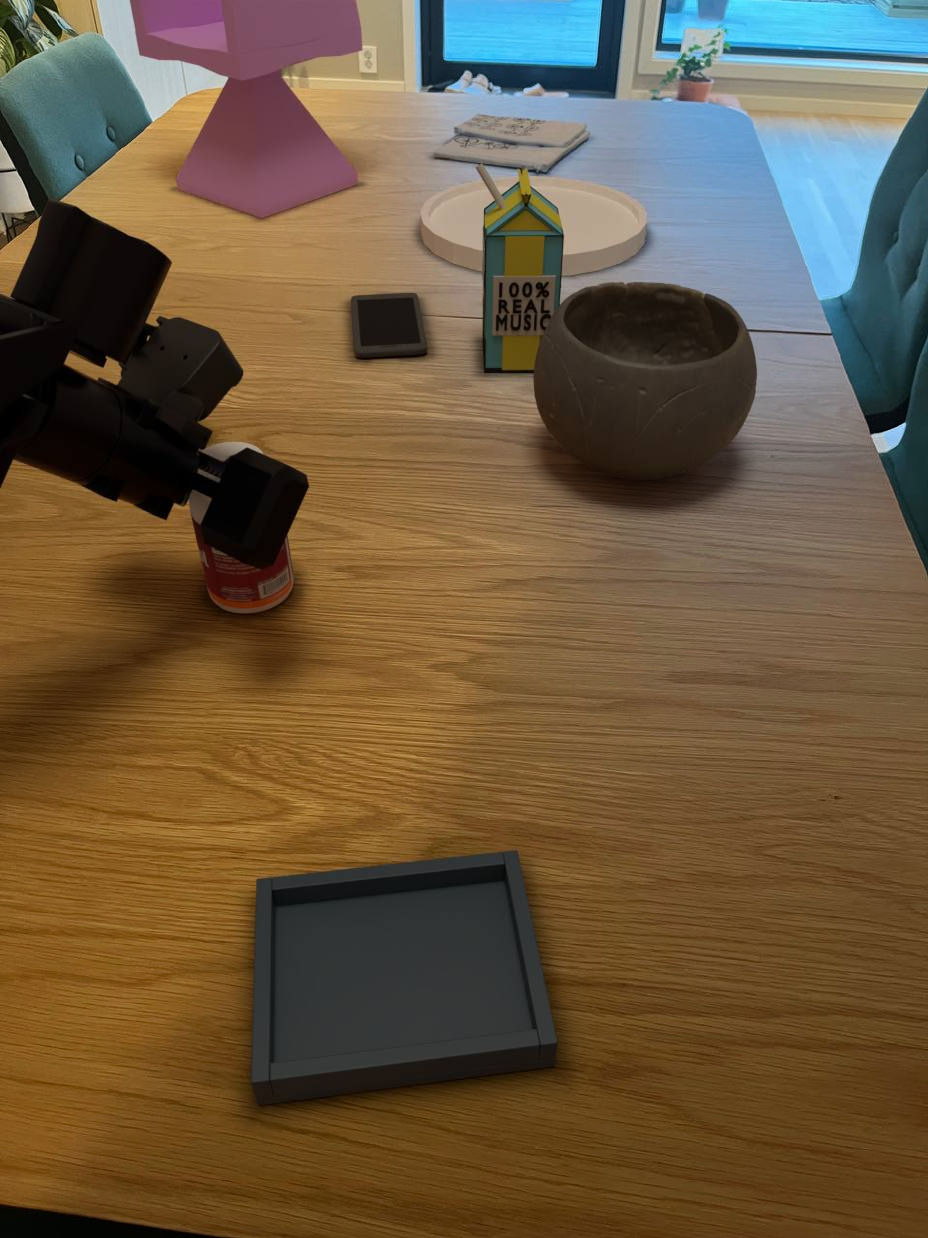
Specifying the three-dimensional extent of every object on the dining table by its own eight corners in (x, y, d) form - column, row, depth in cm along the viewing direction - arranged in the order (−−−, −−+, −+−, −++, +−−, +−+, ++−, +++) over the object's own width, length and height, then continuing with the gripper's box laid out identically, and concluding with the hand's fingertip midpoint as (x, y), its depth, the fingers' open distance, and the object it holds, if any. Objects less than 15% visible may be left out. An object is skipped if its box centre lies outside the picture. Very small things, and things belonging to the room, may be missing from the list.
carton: (474, 339, 104) (474, 153, 93) (550, 339, 104) (560, 152, 93) (475, 373, 99) (476, 179, 87) (555, 372, 99) (567, 179, 87)
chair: (164, 189, 140) (115, -73, 120) (274, 155, 151) (245, -90, 132) (261, 222, 130) (224, -58, 110) (370, 183, 141) (354, -77, 122)
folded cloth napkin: (591, 137, 158) (592, 122, 156) (545, 175, 144) (546, 159, 142) (478, 123, 164) (479, 108, 162) (424, 158, 150) (423, 143, 148)
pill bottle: (217, 563, 76) (191, 433, 69) (300, 563, 76) (282, 434, 69) (200, 617, 71) (170, 484, 64) (288, 617, 71) (268, 485, 64)
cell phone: (417, 297, 112) (417, 291, 111) (428, 355, 101) (428, 348, 101) (350, 301, 111) (350, 294, 111) (354, 359, 101) (354, 352, 100)
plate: (588, 295, 113) (589, 273, 111) (377, 248, 123) (376, 227, 122) (678, 217, 131) (681, 197, 130) (488, 182, 142) (488, 163, 140)
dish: (257, 1106, 46) (250, 1082, 44) (262, 904, 54) (256, 878, 52) (554, 1067, 47) (557, 1042, 46) (516, 875, 55) (517, 849, 54)
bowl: (691, 395, 95) (712, 262, 87) (775, 501, 82) (810, 356, 74) (507, 415, 93) (511, 280, 84) (563, 529, 79) (575, 381, 71)
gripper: (264, 341, 52) (407, 440, 66) (37, 258, 60) (207, 361, 74) (174, 540, 52) (336, 596, 66) (-38, 430, 61) (145, 501, 74)
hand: (253, 505), depth 70 cm, fingers closed on pill bottle, 6 cm apart
